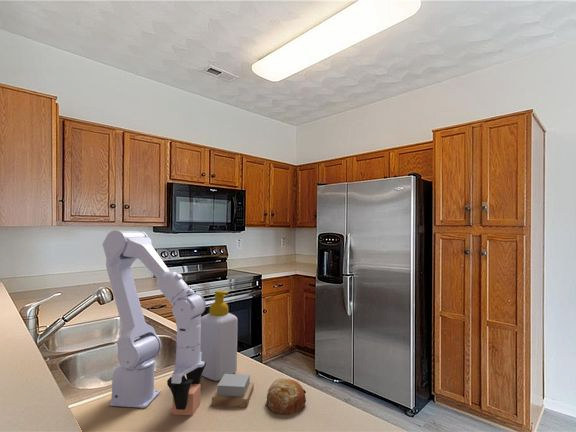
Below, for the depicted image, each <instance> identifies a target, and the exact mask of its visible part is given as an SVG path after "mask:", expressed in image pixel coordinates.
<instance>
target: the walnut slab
mask: <svg viewBox="0 0 576 432" xmlns="http://www.w3.org/2000/svg"><path fill="white" fill-rule="evenodd" d="M254 388H255V383H254V382H250V384H249V387H248V389H247V391H246V394H245V396H244V397H236V396H217V389H216V390H215V392H214V393H213V395H212V396H211V406H220V407H221V406H222V407H224V406H225V407H237V406H242V407H241V408H248V405H249V404H250V403H249V402H250V401H251V398H252V395H253V392H254ZM249 400H250V401H249ZM243 406H244V407H243Z"/></svg>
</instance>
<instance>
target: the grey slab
mask: <svg viewBox="0 0 576 432" xmlns="http://www.w3.org/2000/svg"><path fill="white" fill-rule="evenodd" d="M250 377H251V375H250V374H241V373H240V374H239V373H234V374H224V376H223V377H222V379H221V380H219V381H218V383H217V386H216V390H217V396H236V397H244V396H245V394H246V391H247V389H248V387H249V384H250V383H251V382H250V381H251V380H250Z"/></svg>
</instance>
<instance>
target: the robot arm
mask: <svg viewBox="0 0 576 432" xmlns="http://www.w3.org/2000/svg"><path fill="white" fill-rule="evenodd" d="M102 247H103V251H104V252H103V253H104V254H105V259H106V260H105V261H106V262H105V263H106V264H105V266H106V271H107V276H108V279H109V283H110V286H111V289H112V293H113V297H114V301H115V305H116V308H117V312H118V316H119V319H120V323H121V327H122V330H123V331H122V333H121V334H120V336H119V338H118V339H117V341H116V345H117V360H118V363H119V364H118V365H117V366H116V368H115V369H114V371H113V375H112V378H111V379H112V380H111V381H112V382H111V401H110V403H109V407H123V408H124V407H125V408H142V409H143V408H144V409H145V408H147V407H148V406H149V404H151V403H152V402H153V400H155V399H156V397H158V396H159V395H160V394H161V391H160V390H156V389H155V363H156V362H155V361H157V356H158V355H159V354H160V353H161V350H162V341H161V339H160V337H159V335H157V333H156V331H155V328H154V327H153V326H152V325H150V324H148V323H147V322H146V320H145V319H146V318H145V315H144V313H143V309H142V305H141V302H140V298H139V294H138V290H137V287H136V284H135V283H136V282H135V281H134V276H133V273H132V269H131V267H132V265H133V264H134V262H135V261H136V260H137V259H139V261H140V262H141V263H142V264H143V266H145V267H146V268H147V269H148V271H150V272H151V273H152V274H153V276H154V277H155V278H156V279H157V288H158V289H159V290H160V292H161V293H162V295H164V297H165V299H167V301H168V302H169V303H170V305H171V306H172V307H173V308H171V313H172V316H173V318H174V319H175V326H176V345H175V346H176V351H175V352H176V353H175V363H174V368H173V373H172V374H171V376H170V377H169V378H168V379H167V381H166V384H167V387H168V388H169V390H170V392H171V394H172V399H173V398H174V402H175V406H176V409H178V410H185V408H186V405H187V400H188V393H189V389H190V386H191V384H200V382H201V377H202V372H203V370H204V368H205V366H206V362H204V361H201V359H202V352H200V342H201V317H202V314H203V313H204V312H205V311H206V307H207V306H206V305H207V303H206V300H205V298H204V296H203V294H201V293H199V292H195V291H194V290H193V289H192V288H190V286H189V285H188V284H187V283H186V282H185V281H184V280H183V275H182V274H181V273H178V272H177V271H170V269H169V267H168V266H167V265H166V264H165V262H164V261H163V260H162V258H161V256H160V255H159V254H158V251H156V249H155V248H154V247H153V245H152V238H150V237H149V236H148V235H147V233H146V232H145V231H143V230H137V229H136V230H120V229H119V230H118V229H114V230H113V229H112V230H111V231H110V232H109V233H107V235H106V237H105V239H104V240H103V242H102Z"/></svg>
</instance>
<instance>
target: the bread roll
mask: <svg viewBox="0 0 576 432" xmlns="http://www.w3.org/2000/svg"><path fill="white" fill-rule="evenodd" d="M306 393H307V391H306V390H305V388H303V386H302V385H301V384H300V383H299V382H298V381H296V380H294V379H290V378H278V379H277V378H276V379H275V380H274V381H273V382H272V383H271V384H270V386H269V388H268V389H267V395H266V401H265V405H266V406H267V407H268V408H269V409H270V410H271V411H272V412H273V413H274V414H279V415H291V414H294V413H297V412H299V411H301V410H302V409H303V408H304V406H305V405H306V402H307V398H306Z"/></svg>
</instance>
